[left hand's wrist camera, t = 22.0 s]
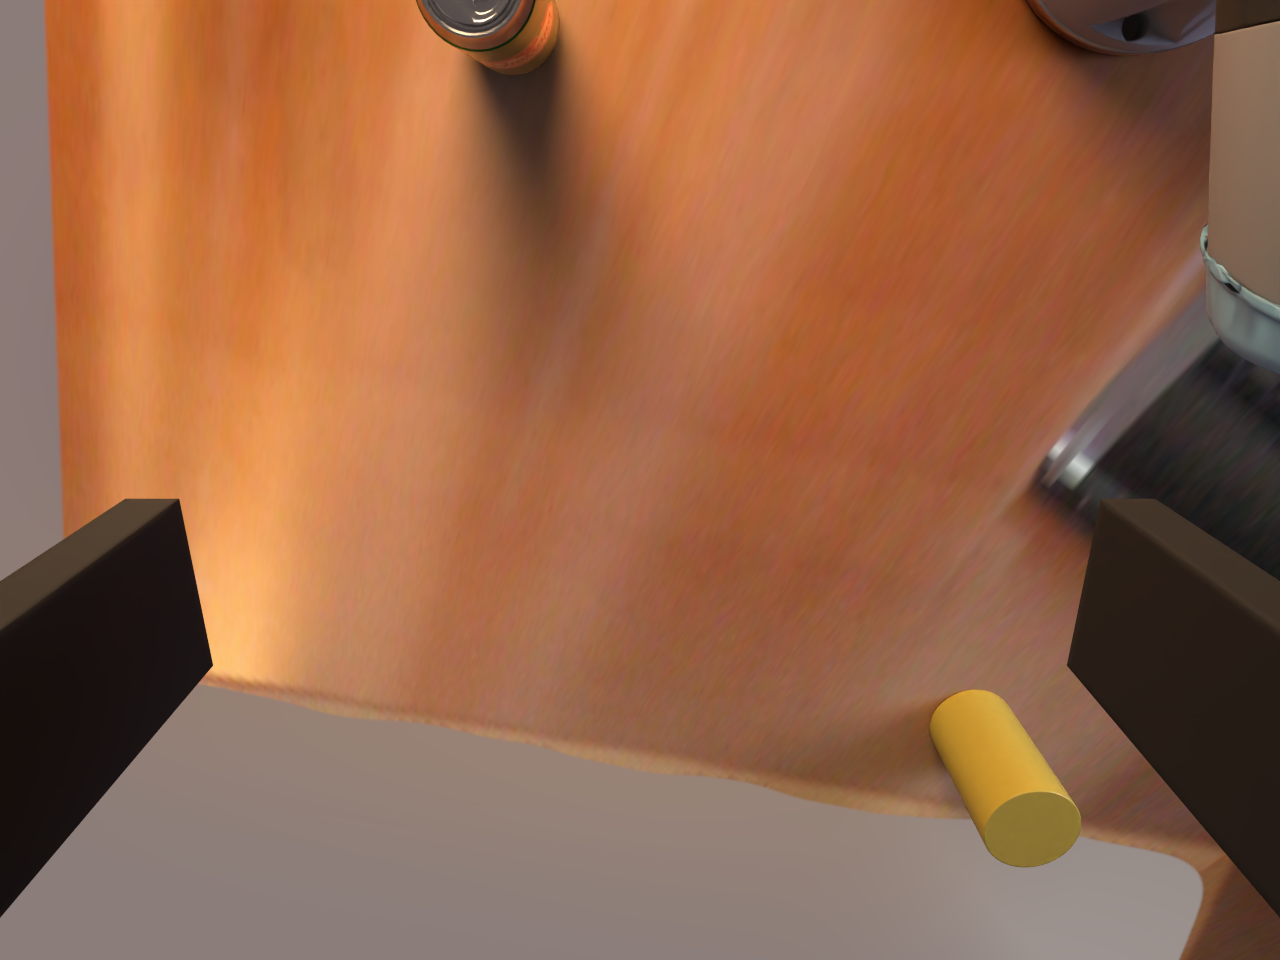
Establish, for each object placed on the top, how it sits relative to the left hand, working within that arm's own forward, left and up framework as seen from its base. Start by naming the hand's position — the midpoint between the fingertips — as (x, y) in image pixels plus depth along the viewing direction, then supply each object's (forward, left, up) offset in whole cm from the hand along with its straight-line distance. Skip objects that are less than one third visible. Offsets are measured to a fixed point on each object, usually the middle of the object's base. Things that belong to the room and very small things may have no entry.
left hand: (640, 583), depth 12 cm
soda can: (-2, -14, -40) cm, 42 cm away
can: (-1, +39, -40) cm, 56 cm away
